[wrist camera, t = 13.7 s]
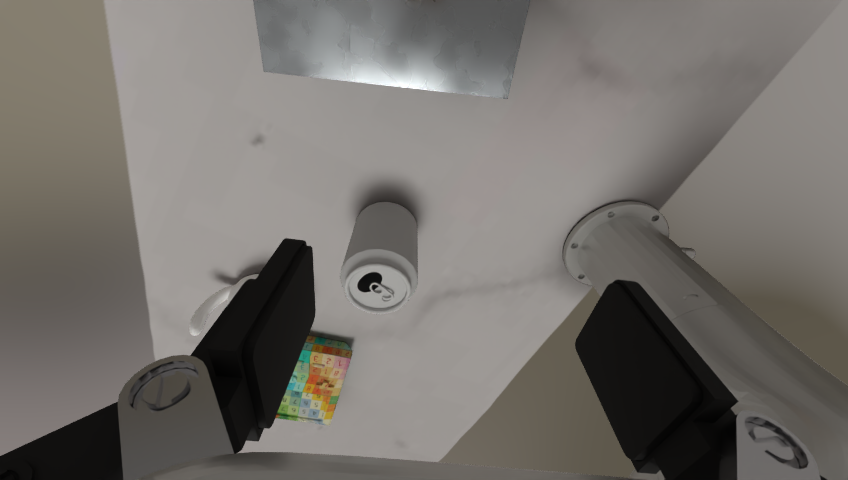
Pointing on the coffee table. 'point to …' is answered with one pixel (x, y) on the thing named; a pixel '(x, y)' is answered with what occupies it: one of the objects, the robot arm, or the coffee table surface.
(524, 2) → the grey square socket block
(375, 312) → the can
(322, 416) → the puzzle game
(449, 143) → the coffee table surface
